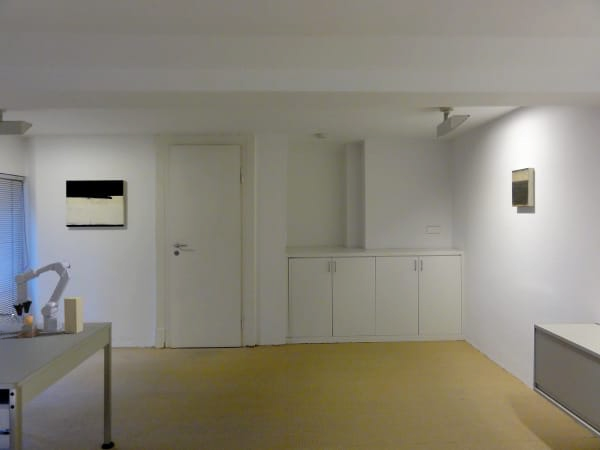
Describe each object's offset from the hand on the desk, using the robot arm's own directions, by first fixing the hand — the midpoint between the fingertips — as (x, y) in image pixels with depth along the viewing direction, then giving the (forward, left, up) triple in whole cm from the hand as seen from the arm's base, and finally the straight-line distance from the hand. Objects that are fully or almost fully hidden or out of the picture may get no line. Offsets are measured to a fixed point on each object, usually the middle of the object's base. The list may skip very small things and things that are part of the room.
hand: (23, 314), depth 271 cm
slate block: (-10, +13, -7) cm, 18 cm away
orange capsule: (-10, +14, -4) cm, 17 cm away
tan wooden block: (-34, +8, -11) cm, 37 cm away
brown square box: (-10, +13, -11) cm, 20 cm away
